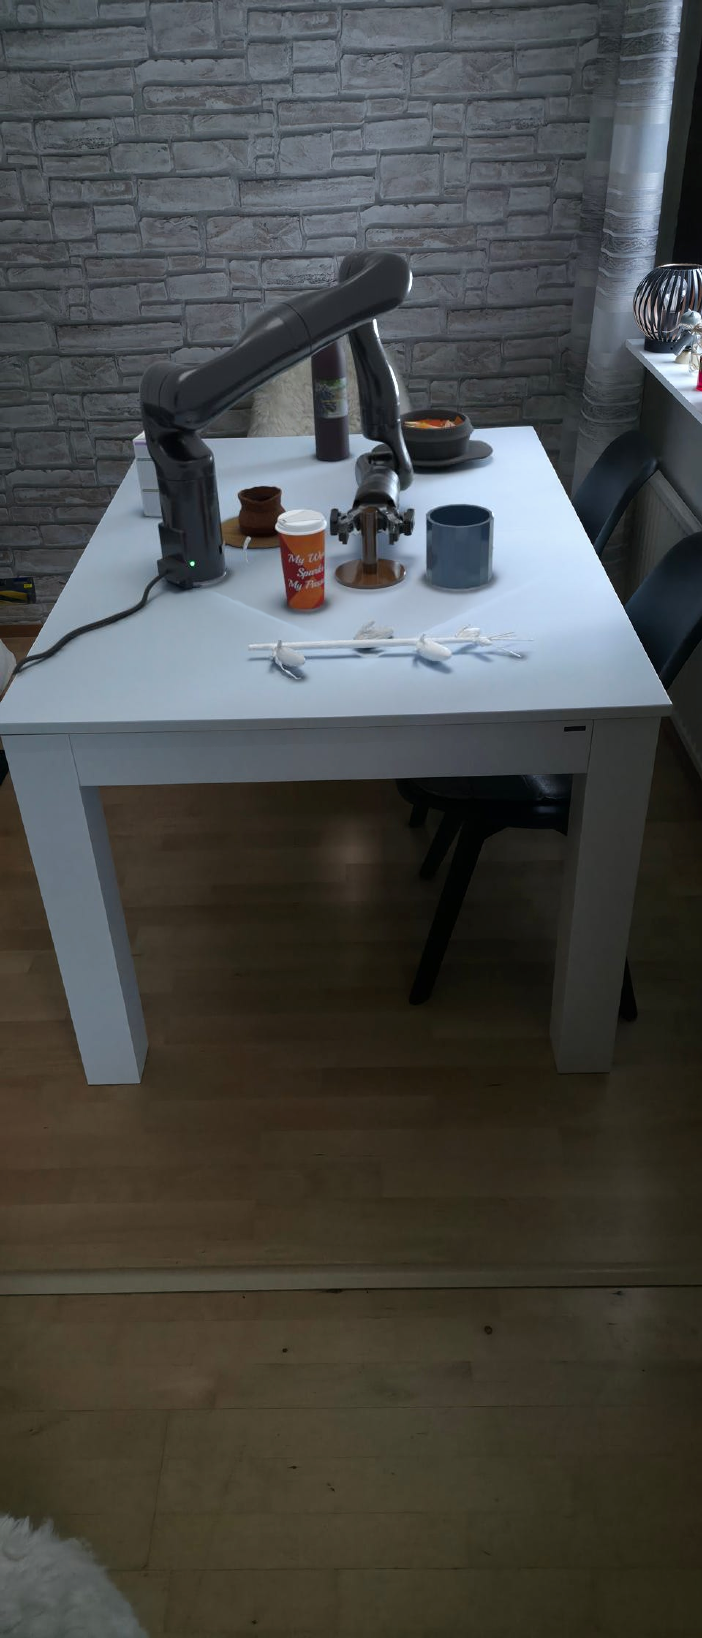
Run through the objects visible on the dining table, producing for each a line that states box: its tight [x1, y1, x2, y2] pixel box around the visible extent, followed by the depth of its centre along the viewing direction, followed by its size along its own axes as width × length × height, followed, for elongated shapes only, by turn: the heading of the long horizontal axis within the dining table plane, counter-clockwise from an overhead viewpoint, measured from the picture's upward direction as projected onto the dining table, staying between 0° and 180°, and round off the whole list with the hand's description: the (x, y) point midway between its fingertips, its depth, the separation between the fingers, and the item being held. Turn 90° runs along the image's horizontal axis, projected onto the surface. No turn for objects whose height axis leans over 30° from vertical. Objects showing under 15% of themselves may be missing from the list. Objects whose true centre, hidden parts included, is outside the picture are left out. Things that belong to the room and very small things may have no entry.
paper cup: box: [275, 509, 328, 611], centre depth 169 cm, size 8×8×14 cm
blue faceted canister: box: [425, 503, 495, 590], centre depth 177 cm, size 10×10×10 cm
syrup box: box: [132, 430, 162, 518], centre depth 207 cm, size 6×6×14 cm
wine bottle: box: [310, 338, 351, 462], centre depth 227 cm, size 7×7×30 cm
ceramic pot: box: [221, 485, 287, 549], centre depth 199 cm, size 18×18×7 cm
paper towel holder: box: [334, 508, 407, 590], centre depth 178 cm, size 11×11×11 cm
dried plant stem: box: [243, 537, 535, 680], centre depth 154 cm, size 12×19×40 cm
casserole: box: [370, 409, 494, 469], centre depth 228 cm, size 25×19×8 cm
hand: (367, 538), depth 175 cm, fingers open, 7 cm apart
